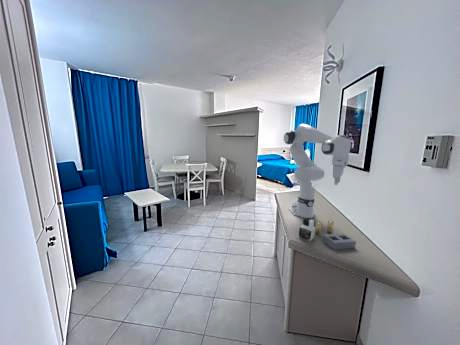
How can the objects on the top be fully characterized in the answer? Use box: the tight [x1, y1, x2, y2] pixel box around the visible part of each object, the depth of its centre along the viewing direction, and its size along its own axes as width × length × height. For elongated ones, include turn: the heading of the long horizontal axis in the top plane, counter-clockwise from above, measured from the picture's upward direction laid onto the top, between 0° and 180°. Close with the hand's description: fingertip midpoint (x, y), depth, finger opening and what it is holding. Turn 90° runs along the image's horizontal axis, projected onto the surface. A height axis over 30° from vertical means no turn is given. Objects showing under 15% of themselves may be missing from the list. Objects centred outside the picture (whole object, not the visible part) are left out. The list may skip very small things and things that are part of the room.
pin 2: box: [326, 220, 335, 234], centre depth 133 cm, size 3×3×8 cm
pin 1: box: [315, 220, 323, 236], centre depth 130 cm, size 3×3×8 cm
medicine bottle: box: [298, 217, 316, 242], centre depth 124 cm, size 7×7×12 cm
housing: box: [321, 232, 357, 251], centre depth 119 cm, size 14×10×4 cm
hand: (336, 183), depth 128 cm, fingers open, 8 cm apart
